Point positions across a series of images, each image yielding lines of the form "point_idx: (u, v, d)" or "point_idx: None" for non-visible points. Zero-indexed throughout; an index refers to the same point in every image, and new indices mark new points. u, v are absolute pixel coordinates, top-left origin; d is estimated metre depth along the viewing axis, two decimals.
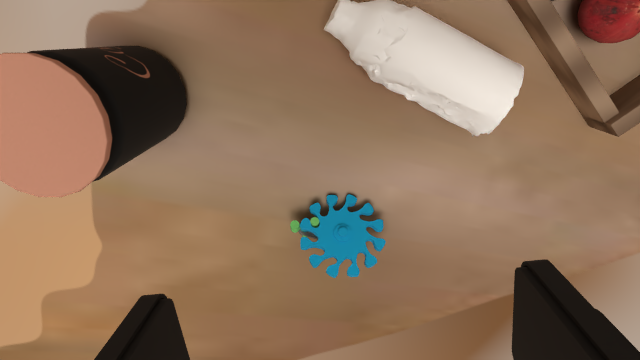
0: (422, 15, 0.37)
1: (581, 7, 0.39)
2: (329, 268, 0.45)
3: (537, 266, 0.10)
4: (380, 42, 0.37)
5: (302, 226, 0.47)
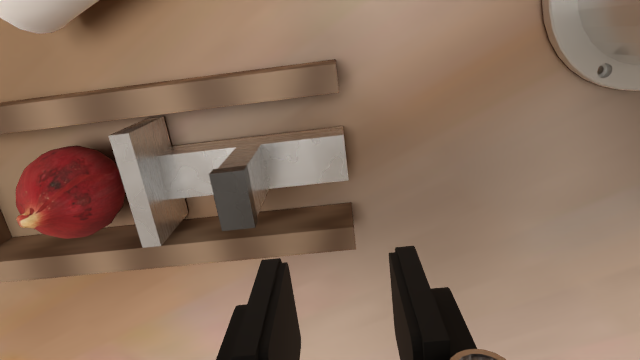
0: None
1: (101, 157, 0.26)
2: None
3: (402, 251, 0.11)
4: None
5: None
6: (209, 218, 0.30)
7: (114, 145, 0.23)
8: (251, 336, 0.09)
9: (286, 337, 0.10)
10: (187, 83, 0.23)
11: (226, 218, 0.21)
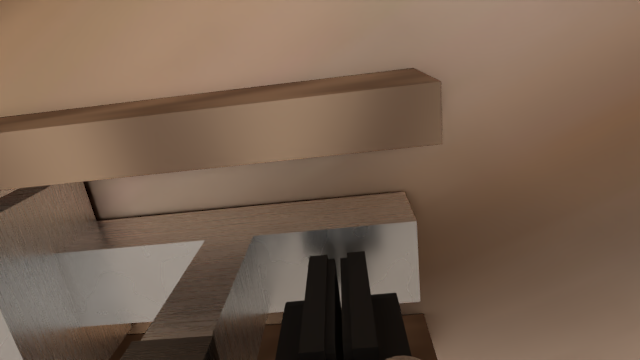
0: None
1: None
2: None
3: (352, 256, 0.11)
4: None
5: None
6: None
7: None
8: (315, 332, 0.09)
9: (340, 334, 0.10)
10: (113, 121, 0.11)
11: None
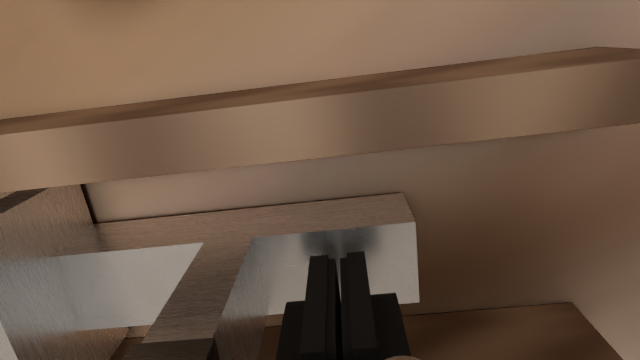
0: None
1: None
2: None
3: (351, 256, 0.11)
4: None
5: None
6: None
7: None
8: (316, 332, 0.08)
9: (340, 334, 0.10)
10: (344, 95, 0.10)
11: None
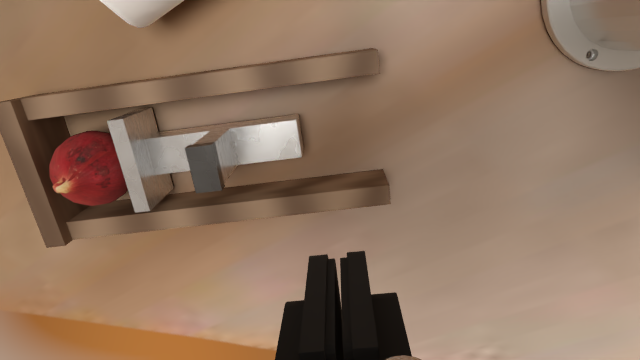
0: None
1: None
2: None
3: (352, 256, 0.11)
4: None
5: None
6: (263, 184, 0.36)
7: (111, 128, 0.29)
8: (315, 332, 0.09)
9: (340, 334, 0.10)
10: (257, 67, 0.29)
11: (199, 183, 0.27)
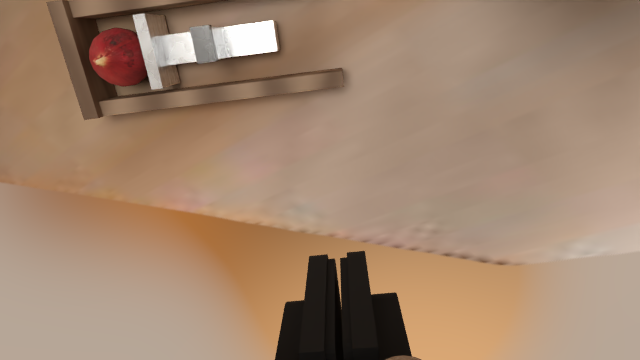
0: None
1: None
2: None
3: (352, 256, 0.11)
4: None
5: None
6: None
7: (135, 21, 0.40)
8: (315, 332, 0.09)
9: (340, 334, 0.10)
10: None
11: (199, 55, 0.38)
